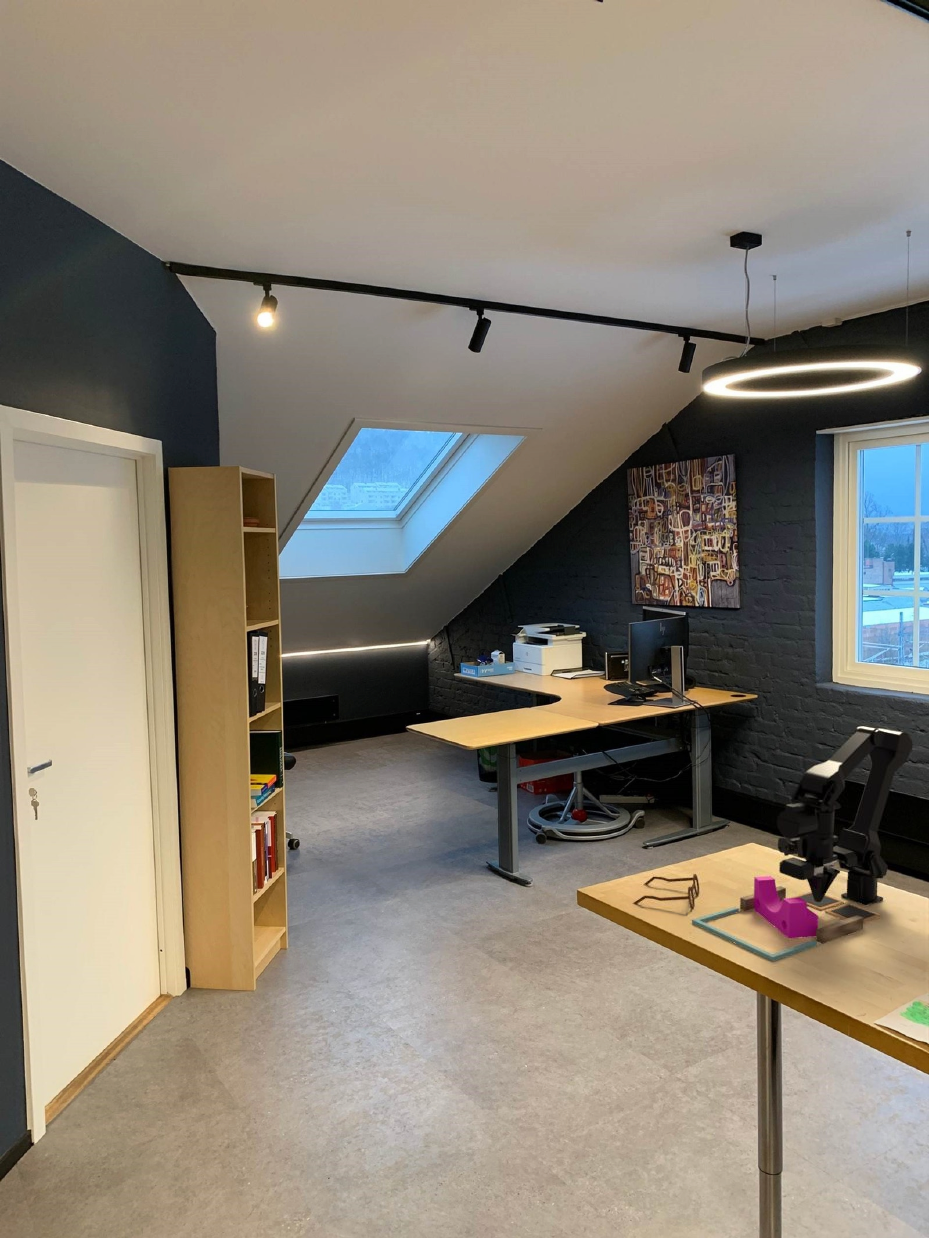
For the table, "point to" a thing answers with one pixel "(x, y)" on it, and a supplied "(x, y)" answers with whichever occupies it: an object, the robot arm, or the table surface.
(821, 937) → the channel
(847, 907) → the pit traps
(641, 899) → the glasses
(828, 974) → the table surface
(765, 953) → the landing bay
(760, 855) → the table surface
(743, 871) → the table surface
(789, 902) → the toy block
